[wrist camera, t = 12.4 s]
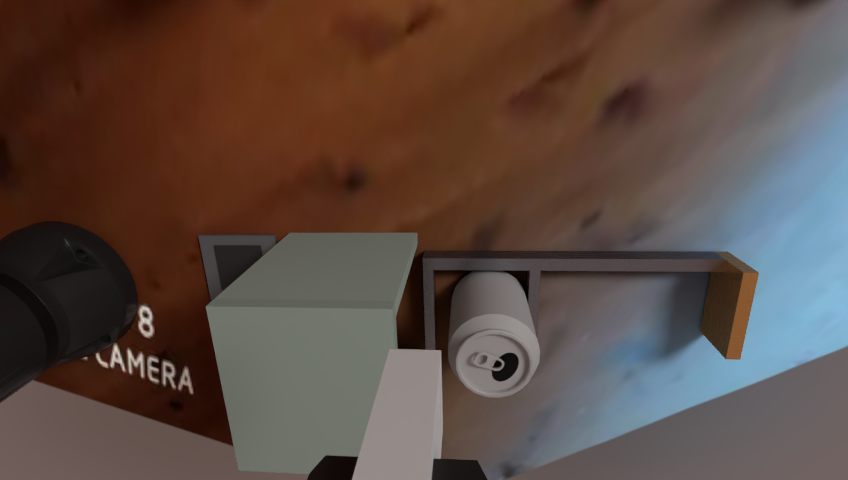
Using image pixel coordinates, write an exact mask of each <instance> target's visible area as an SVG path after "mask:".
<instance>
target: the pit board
mask: <svg viewBox="0 0 848 480" xmlns="http://www.w3.org/2000/svg"><path fill="white" fill-rule="evenodd" d="M198 237H199V242H200V247H201V252H202V257H203V262H204V267H205V273H206V278H207V283H208V288H209V293H210V298H211V301H212V300H214V299H215V298H216V297H217V296H218V295H219V294H220V293H222V292H223V291H224V290H225V289H226V288H227V287H228V286H230V285H231V284H232V283H233V282H234V281H235V280H236V279H237V278H239V277H240V276H241V275H242V274H243V273H244V272H245V271H247V270H248V269H249V268H250V267H251V266H252V265H253V264H255V263H256V262H257V261H258V260H259V259H260V258H261V257H263V256H264V255H265V254H266V253H267V252H268V251H269V250H271V249H272V248H273V247H274V246H275V245H276V244H277V243H276V236H275V235H199V236H198Z"/></svg>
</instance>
